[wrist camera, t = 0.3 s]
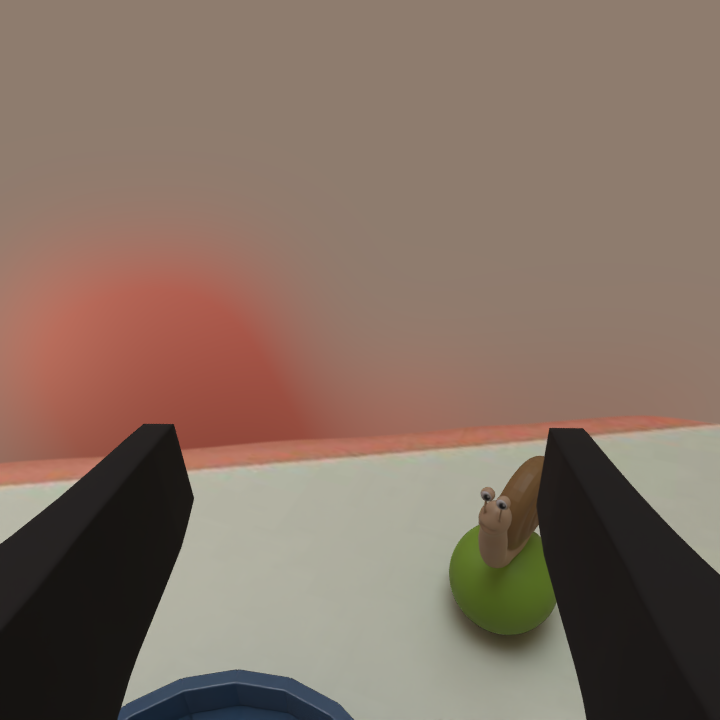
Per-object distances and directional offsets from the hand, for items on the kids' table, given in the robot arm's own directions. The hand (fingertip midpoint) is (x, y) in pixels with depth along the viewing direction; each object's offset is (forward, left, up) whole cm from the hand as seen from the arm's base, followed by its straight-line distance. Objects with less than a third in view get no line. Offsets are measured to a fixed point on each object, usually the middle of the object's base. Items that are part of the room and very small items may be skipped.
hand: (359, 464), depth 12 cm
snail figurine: (+10, -6, -21) cm, 24 cm away
